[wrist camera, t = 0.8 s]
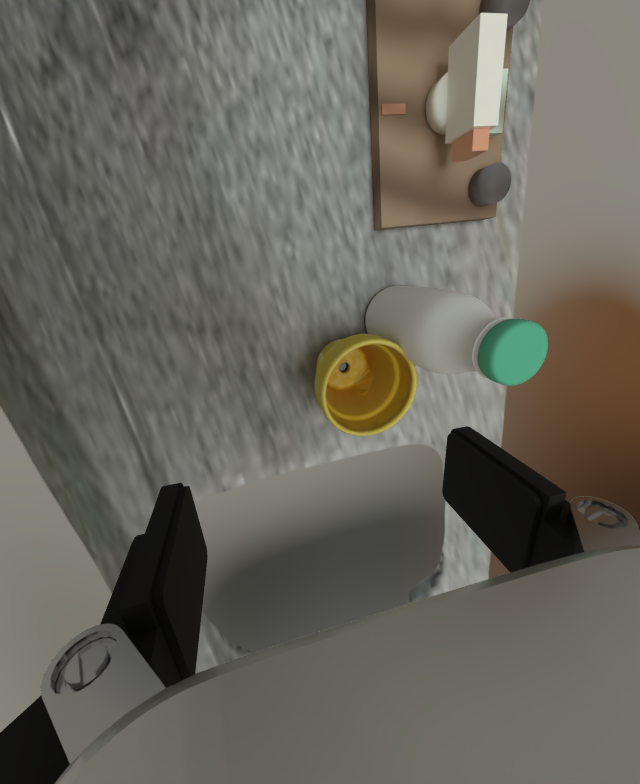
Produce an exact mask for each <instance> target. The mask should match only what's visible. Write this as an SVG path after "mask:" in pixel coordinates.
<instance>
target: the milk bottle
mask: <svg viewBox="0 0 640 784" xmlns="http://www.w3.org/2000/svg"><path fill="white" fill-rule="evenodd" d="M365 323H366V329H367V332H368V334H373V335H377V336H380V337H383V338H386V339H388V340H390V341H392V342H395V343H396V344H398V345H400V346H401V347H402V350H403V352H404V354H405V356H406V357H407V358H408V359H409V360H410V361H411V362H412V363H413V364H415V365H417V366H419V367H422V368H424V369H426V370H429V371H432V372H436V373H441V374H459V373H464V372H470V371H477V372H478V373H479V374H480V375H481V376H483V377H485V378H488V379H490V380H492V381H494V382H497V383H500V384H503V385H518V384H521V383H523V382H525V381H527V380H528V379H530V378H531V377H532V376H533V375H534V374H535V373H536V372H537V371H538V370H539V368H540V367H541V365H542V364H543V362H544V360H545V357H546V354H547V349H548V339H547V335H546V332H545V331H544V329H543V328H542V327H541V326H540V325H538V324H537V323H534V322H532V321H529V320H524V319H514V318H511V317H502V318H499V317H497V316H496V315H495V314H494V313H493V312H492V311H491V310H490V309H489V308H488V307H487V306H486V305H485V304H484V303H483V302H481V301H480V300H479V299H477V298H475V297H473V296H471V295H469V294H466V293H462V292H459V291H453V290H446V289H436V288H426V287H413V286H391V287H388V288H385V289H383V290H382V291H380V292H379V293H378V294H377V295H376V296H375V297H374V298H373V299H372V301H371V302H370V304H369V306H368V309H367V312H366V319H365Z"/></svg>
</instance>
